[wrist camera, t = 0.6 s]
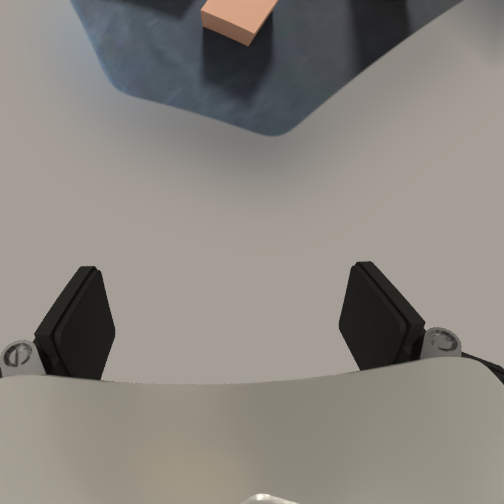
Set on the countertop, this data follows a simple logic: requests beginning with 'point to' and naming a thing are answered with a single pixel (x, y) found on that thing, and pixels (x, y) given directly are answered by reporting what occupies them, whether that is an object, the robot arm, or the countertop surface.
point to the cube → (237, 17)
